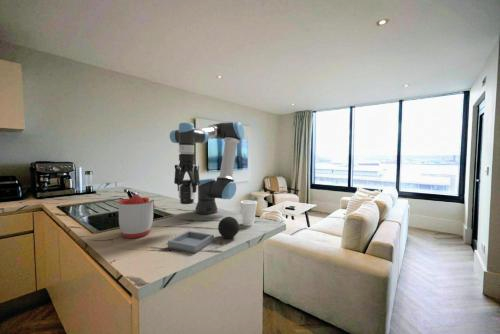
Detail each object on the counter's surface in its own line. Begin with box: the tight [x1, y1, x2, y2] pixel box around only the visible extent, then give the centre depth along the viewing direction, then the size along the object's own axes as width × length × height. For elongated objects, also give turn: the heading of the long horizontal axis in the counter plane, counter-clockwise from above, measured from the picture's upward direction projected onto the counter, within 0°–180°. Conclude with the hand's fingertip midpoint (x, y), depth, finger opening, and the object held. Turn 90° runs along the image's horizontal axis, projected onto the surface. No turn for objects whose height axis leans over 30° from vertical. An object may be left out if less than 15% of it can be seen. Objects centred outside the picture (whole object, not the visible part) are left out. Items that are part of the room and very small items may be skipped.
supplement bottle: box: [179, 179, 195, 205], centre depth 113 cm, size 7×7×12 cm
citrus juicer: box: [117, 193, 158, 239], centre depth 108 cm, size 16×17×20 cm
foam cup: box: [240, 199, 258, 227], centre depth 126 cm, size 10×9×13 cm
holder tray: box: [167, 230, 215, 255], centre depth 97 cm, size 14×14×3 cm
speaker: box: [217, 216, 240, 239], centre depth 105 cm, size 10×10×10 cm
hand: (186, 198), depth 113 cm, fingers closed on supplement bottle, 7 cm apart
